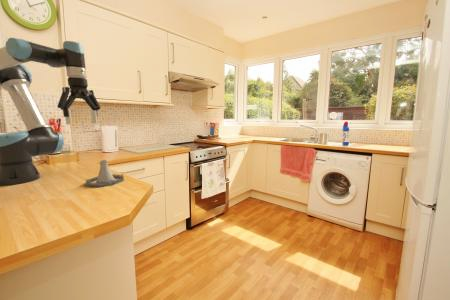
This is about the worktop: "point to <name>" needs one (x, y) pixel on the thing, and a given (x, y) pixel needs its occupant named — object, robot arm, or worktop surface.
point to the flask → (104, 173)
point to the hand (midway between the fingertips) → (83, 123)
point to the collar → (88, 182)
